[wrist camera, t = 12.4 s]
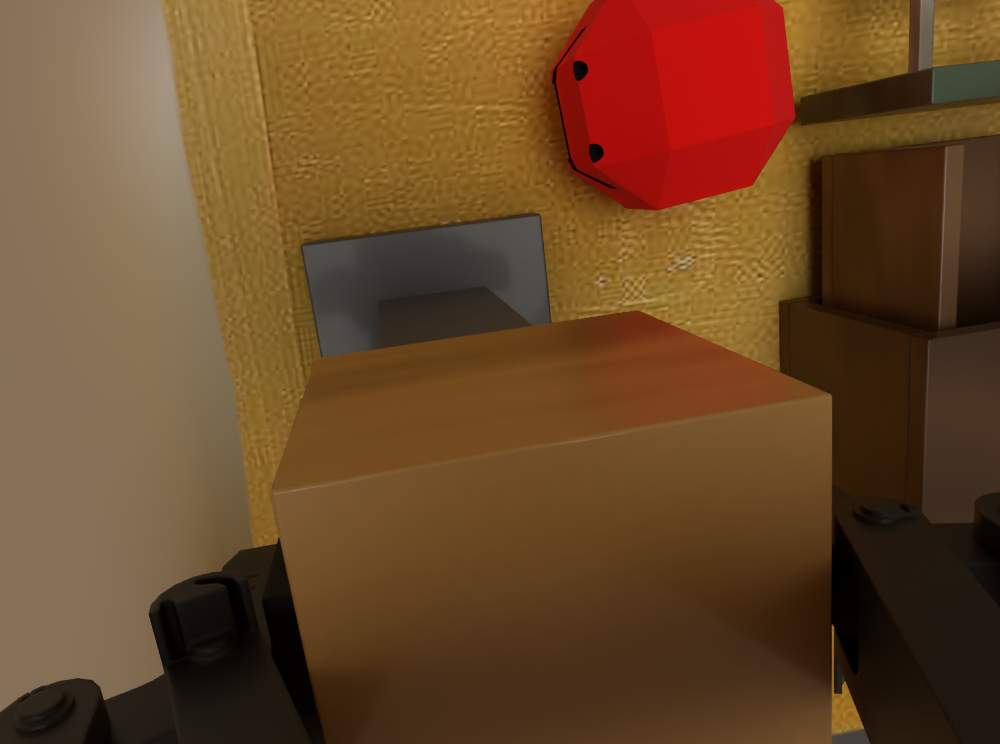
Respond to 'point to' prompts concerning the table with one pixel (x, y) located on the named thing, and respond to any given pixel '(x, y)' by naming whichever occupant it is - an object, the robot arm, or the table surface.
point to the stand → (427, 283)
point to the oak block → (562, 541)
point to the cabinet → (902, 405)
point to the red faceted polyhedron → (674, 97)
